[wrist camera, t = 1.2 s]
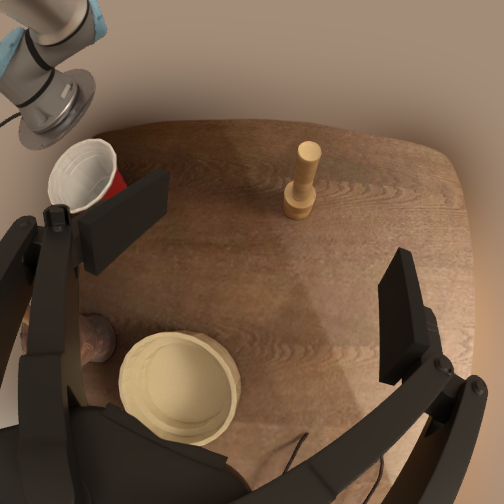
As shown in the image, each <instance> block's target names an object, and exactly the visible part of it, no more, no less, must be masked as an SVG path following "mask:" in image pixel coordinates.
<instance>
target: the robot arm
mask: <svg viewBox="0 0 504 504" xmlns="http://www.w3.org/2000/svg"><path fill="white" fill-rule="evenodd" d="M0 12H1V13H3V14H5V15H7V16H9V17H10V18H12V19H14V20H16V21H18V22H19V23H21V24H23V25H24V26H26V27H28V29H27V30H24V28H22V27H17V28H16V29H14V30H12V31H11V32H10V33H9V34H8V35H7V36H6V37H5V38H4V39H3V40H2V41H1V42H0V92H1V93H2V94H3V95H4V96H5V97H7V98H8V99H9V100H10V101H11V102H12V103H13V104H14V105H15V106H17V107H18V108H19V110H20V112H19V113H16V114H14V115H12V116H11V117H9V118H8V119H6V120H5V121H3V122H2V123H0V127H2V126H3V125H5V124H6V123H7V122H9V121H11V120H12V119H14V118H16V117H18V116H20V115H22V117H23V119H24V121H25V123H26V125H27V127H28V128H29V129H30V130H31V131H33V132H34V133H43V132H46V131H48V130H50V129H52V128H53V127H55V126H56V125H57V124H59V123H60V122H61V121H62V120H63V119H64V118H65V117H66V116H67V115H68V113H69V112H70V111H71V109H72V108H73V106H74V105H75V103H76V101H77V98H78V95H79V86H78V84H77V82H76V81H75V80H74V79H73V78H72V77H70V76H68V75H66V74H64V73H62V72H60V71H58V70H56V69H55V68H54V67H55V66H57V65H58V64H60V63H61V62H63V61H64V60H66V59H67V58H69V57H71V56H72V55H74V54H75V53H77V52H79V51H80V50H82V49H84V48H85V47H87V46H89V45H92V44H94V43H95V42H96V41H97V40H99V39H100V38H102V37H104V36H105V35H106V33H107V27H106V24H105V21H104V19H103V16H102V13H101V11H100V7H99V5H98V2H97V0H0ZM169 173H170V172H169V171H166V170H162V169H157V170H155V171H153V172H152V173H150V174H148V175H146V176H145V177H143V178H141V179H140V180H138V181H137V182H135V183H133V184H132V185H130V186H128V187H127V188H125V189H124V190H122V191H120V192H119V193H117V194H116V195H114V196H113V197H111V198H110V199H109V198H106V199H103V200H100V201H98V202H96V203H95V204H93V205H92V206H91V207H89V208H87V209H86V210H84V211H83V212H81V213H80V214H78V215H77V216H75V217H74V218H73V219H71V215H70V208H69V206H67V205H65V204H55V205H52V206H49V207H48V208H46V209H45V210H44V212H43V215H44V222H45V227H42V226H37V222H36V218H35V217H33V216H23V217H20V218H19V219H17V220H16V221H15V222H14V223H13V224H12V226H11V227H10V229H9V230H8V231H7V233H6V234H5V235H4V237H3V238H2V240H1V241H0V388H1V384H2V381H3V377H4V374H5V370H6V367H7V363H8V360H9V357H10V354H11V351H12V348H13V345H14V342H15V339H16V336H17V333H18V330H19V328H20V325H21V322H22V320H23V317H24V315H25V312H26V310H27V307H28V305H29V302H30V300H31V297H32V301H31V308H30V317H29V326H28V338H27V351H26V355H21V357H20V359H19V371H18V416H19V424H18V425H14V426H11V427H7V428H2V429H0V504H330V503H331V502H333V501H334V500H335V499H336V496H337V495H338V494H339V493H340V492H341V491H342V490H344V489H345V488H346V487H347V486H348V485H350V484H351V483H352V482H353V481H355V480H356V479H357V478H358V477H359V476H360V475H362V474H363V473H364V472H365V471H366V470H367V469H368V468H370V467H371V466H372V465H373V464H374V463H375V462H376V461H377V460H378V459H379V458H380V457H382V456H383V455H384V454H385V453H386V452H387V451H388V450H389V449H390V448H391V447H392V446H393V445H394V444H395V443H396V442H397V441H398V440H399V439H400V438H401V437H402V436H403V435H404V434H405V433H406V431H407V430H408V429H409V428H410V427H411V426H412V425H413V424H414V423H415V422H416V421H417V419H418V418H419V417H420V416H421V415H422V414H423V413H424V412H425V413H426V414H428V415H429V417H428V419H427V422H426V424H425V426H424V428H423V430H422V432H421V434H420V436H419V439H418V441H417V443H416V445H415V446H414V448H413V450H412V452H411V454H410V456H409V458H408V460H407V462H406V463H405V465H404V467H403V469H402V470H401V472H400V474H399V476H398V477H397V479H396V481H395V482H394V484H393V486H392V487H391V489H390V491H389V492H388V494H387V495H386V497H385V498H384V500H383V501H382V503H381V504H453V503H454V500H455V498H456V496H457V493H458V491H459V489H460V486H461V484H462V481H463V479H464V476H465V473H466V471H467V468H468V465H469V462H470V459H471V456H472V453H473V450H474V447H475V444H476V440H477V437H478V433H479V430H480V426H481V422H482V418H483V415H484V410H485V406H486V401H487V397H488V389H487V386H486V384H485V382H484V381H483V380H482V379H481V378H480V377H478V376H477V375H471V376H469V377H468V378H467V379H466V380H464V379H462V378H461V377H459V376H457V375H456V374H454V368H453V365H452V363H451V361H450V360H449V359H448V358H447V357H446V356H445V355H443V352H442V346H441V341H440V335H439V334H438V333H439V330H438V327H437V326H438V325H437V321H436V317H435V315H434V313H433V312H432V310H431V308H428V307H425V306H424V305H423V300H422V295H421V291H420V286H419V282H418V278H417V273H416V269H415V265H414V261H413V257H412V254H411V252H410V251H408V250H405V249H403V248H400V247H399V248H398V250H397V252H396V254H395V256H394V257H393V259H392V261H391V263H390V265H389V267H388V269H387V270H386V272H385V274H384V276H383V278H382V280H381V281H380V283H379V285H378V297H379V327H380V367H379V382H382V383H386V384H389V385H393V386H394V385H395V384H396V383H397V382H398V381H399V380H400V379H401V378H402V385H401V386H400V387H399V388H398V389H397V390H396V391H395V392H393V393H392V394H391V395H390V396H389V397H388V398H387V399H386V400H385V401H383V402H382V403H381V404H380V405H379V406H378V407H376V408H375V409H374V410H373V411H372V412H371V413H369V414H368V415H367V416H366V417H364V418H363V419H362V420H361V421H360V422H358V423H357V424H356V425H355V426H353V427H352V428H351V429H349V430H348V431H347V432H345V433H344V434H343V435H342V436H340V437H339V438H337V439H336V440H335V441H333V442H332V443H331V444H329V445H328V446H326V447H325V448H324V449H322V450H321V451H319V452H318V453H316V454H315V455H313V456H312V457H310V458H309V459H307V460H305V461H304V462H302V463H300V464H299V465H297V466H296V467H294V468H292V469H291V470H289V471H288V472H286V473H284V474H283V475H281V476H279V477H278V478H276V479H274V480H272V481H271V482H269V483H267V484H265V485H264V486H262V487H260V488H258V489H256V490H254V491H252V490H251V488H250V486H249V485H248V483H247V482H246V480H245V479H244V478H243V477H242V476H241V475H240V474H239V473H238V472H237V471H236V470H235V469H234V468H232V467H231V466H229V465H228V464H226V461H227V458H228V457H226V456H223V455H220V454H217V453H215V452H212V451H209V450H207V449H204V448H202V447H199V446H197V445H191V444H185V443H180V442H175V441H170V440H165V439H162V438H160V437H159V436H157V435H156V434H155V433H154V432H152V431H151V430H150V429H149V428H148V427H146V426H145V425H144V424H143V423H142V422H140V421H139V420H138V419H137V418H136V417H134V416H132V415H131V414H129V413H127V412H125V411H123V410H121V409H120V408H118V407H116V406H114V405H113V404H111V403H108V405H107V406H106V408H102V407H96V406H88V403H87V400H86V397H85V392H84V385H83V376H82V365H81V351H80V333H79V266H78V265H79V264H80V263H81V262H82V261H84V267H85V271H87V272H89V273H91V274H93V275H95V276H98V275H99V274H100V273H101V272H102V271H103V270H104V269H105V268H106V267H107V266H108V265H109V264H110V263H111V262H113V261H114V260H115V259H116V258H117V257H118V256H119V255H120V254H121V253H122V252H123V251H124V250H126V249H127V248H128V247H129V246H130V245H131V244H132V243H133V242H134V241H135V240H137V239H138V238H139V237H140V236H141V235H142V234H143V233H145V232H146V231H147V230H148V229H149V228H150V227H151V226H152V225H154V224H155V223H156V222H157V221H158V220H159V219H161V218H162V217H163V216H164V215H165V214H166V213H167V198H168V185H169Z"/></svg>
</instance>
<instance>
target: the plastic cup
mask: <svg viewBox="0 0 504 504" xmlns="http://www.w3.org/2000/svg"><path fill="white" fill-rule="evenodd" d="M125 188H127V185H126V183H125V181H124V180H123V178H122V176H121V174H120V173H119V171H118V168H117V166H116V154H115V152H114V150H113V148H112V146H111V145H110V144H109V143H107V142H105V141H103V140H102V139H87V140H84V141H81V142H79V143H76V144H75V145H73V146H72V147H71V148H69V149H68V150H67V151H65V153H63V154H62V156H61V157H60V158H59V160H58V161H57V162H56V164H55V165H54V167H53V169H52V172H51V174H50V177H49V181H48V195H49V198H50V201H51V204H52V205H55V204H65V205H67V206H69V208H70V213H81V212H83V211H84V210H86V209H87V208H89V207H91V206H92V205H93V204H95V203H96V202H98V201H100V200H103V199H106V198H109V199H110V198H111V197H113V196H114V195H116V194H117V193H119V192H120V191H122V190H124V189H125Z"/></svg>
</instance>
